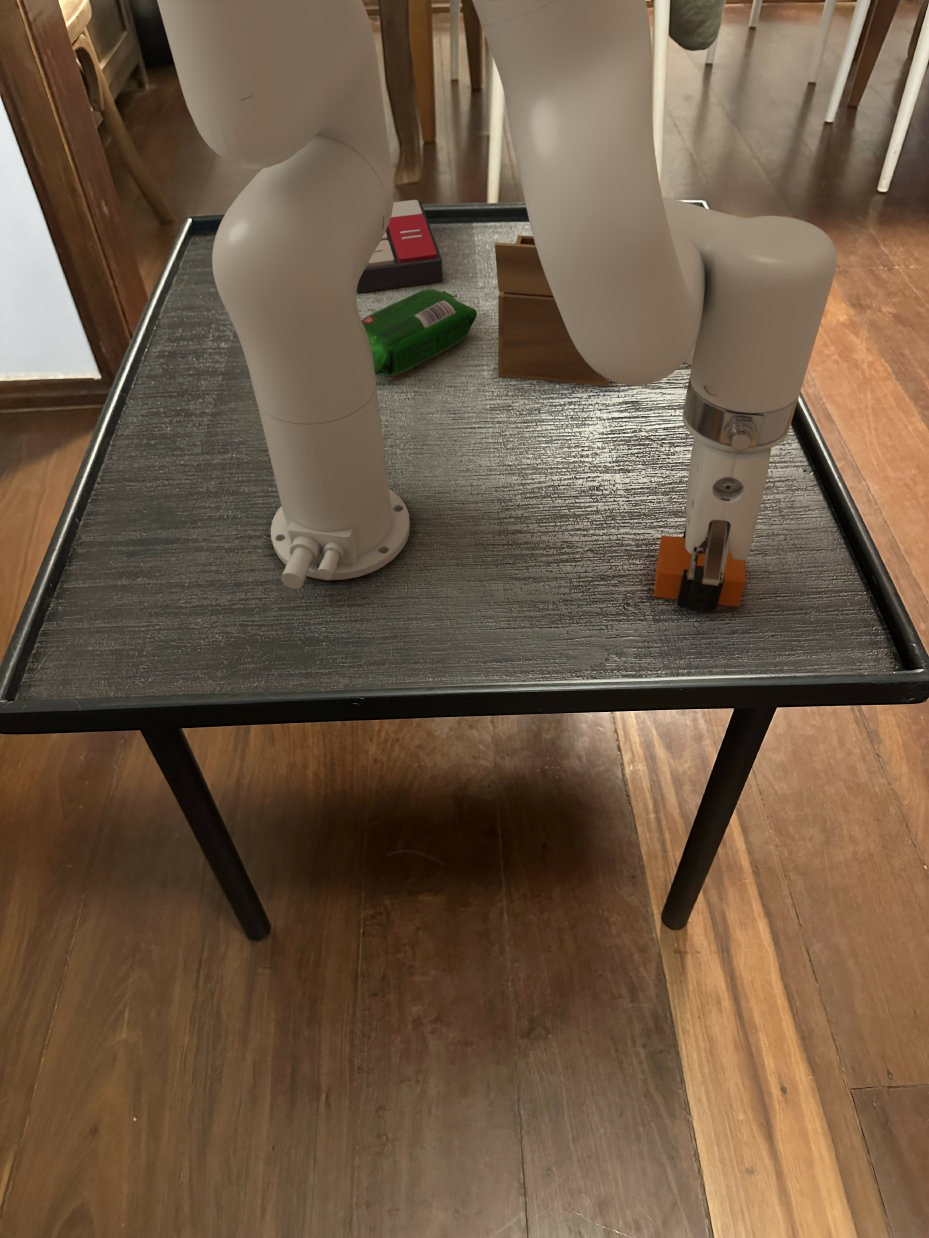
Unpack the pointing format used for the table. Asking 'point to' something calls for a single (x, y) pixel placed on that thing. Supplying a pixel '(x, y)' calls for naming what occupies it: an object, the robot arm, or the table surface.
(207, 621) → the table surface
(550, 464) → the table surface
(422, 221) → the calculator
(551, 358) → the open wooden box
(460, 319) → the snack package
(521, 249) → the flap
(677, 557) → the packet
